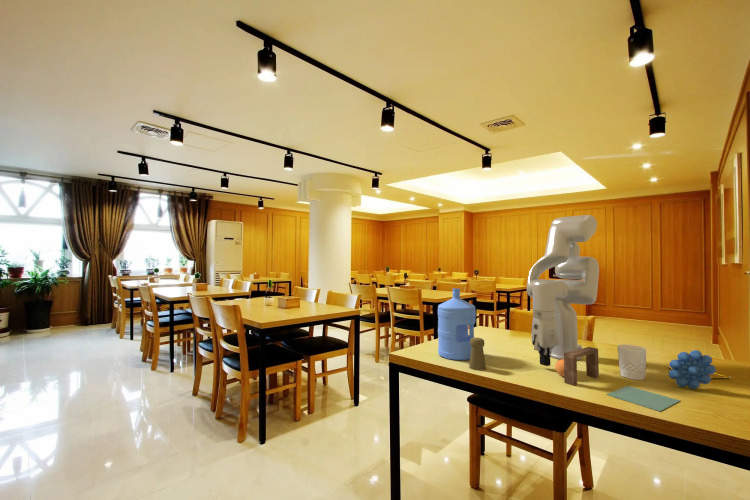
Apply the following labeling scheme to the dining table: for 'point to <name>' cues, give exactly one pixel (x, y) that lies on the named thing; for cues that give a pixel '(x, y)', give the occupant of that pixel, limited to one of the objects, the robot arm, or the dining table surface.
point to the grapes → (691, 369)
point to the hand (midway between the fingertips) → (545, 364)
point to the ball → (560, 367)
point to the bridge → (571, 364)
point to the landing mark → (643, 398)
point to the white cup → (632, 361)
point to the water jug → (455, 327)
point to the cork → (477, 354)
